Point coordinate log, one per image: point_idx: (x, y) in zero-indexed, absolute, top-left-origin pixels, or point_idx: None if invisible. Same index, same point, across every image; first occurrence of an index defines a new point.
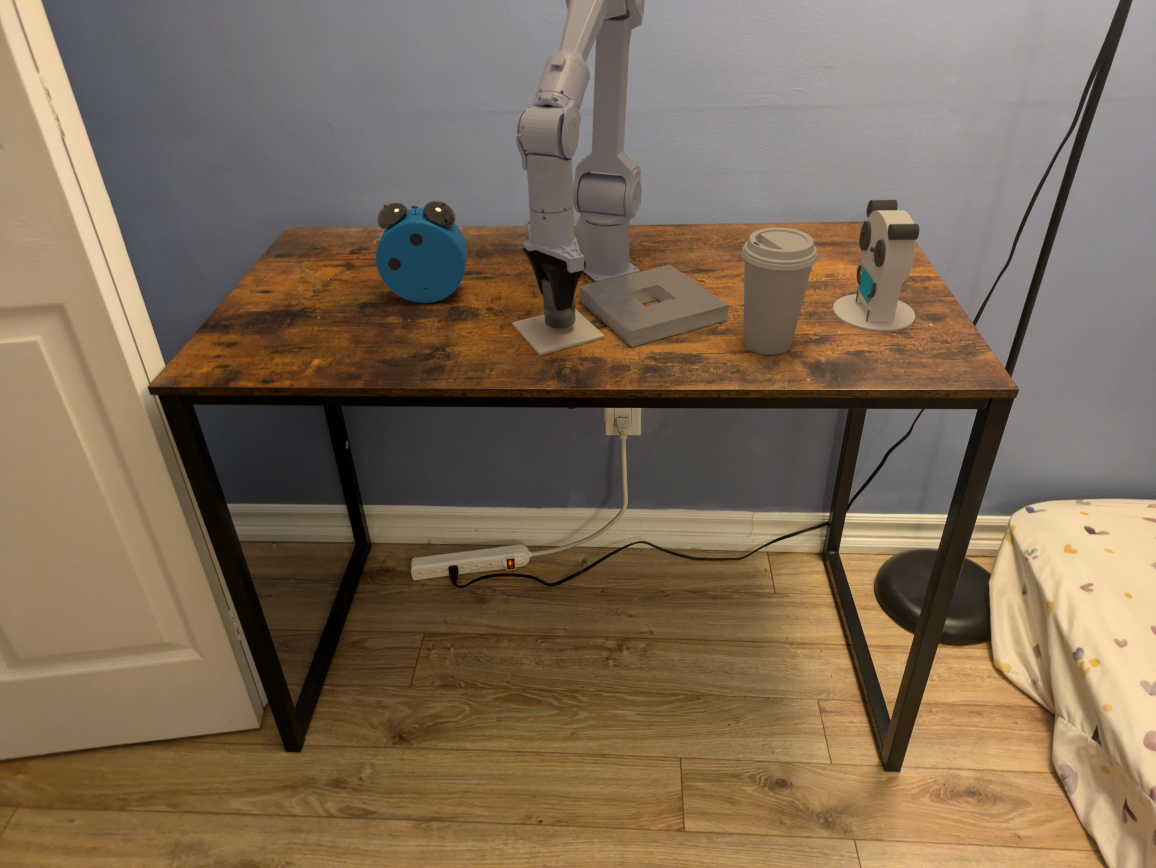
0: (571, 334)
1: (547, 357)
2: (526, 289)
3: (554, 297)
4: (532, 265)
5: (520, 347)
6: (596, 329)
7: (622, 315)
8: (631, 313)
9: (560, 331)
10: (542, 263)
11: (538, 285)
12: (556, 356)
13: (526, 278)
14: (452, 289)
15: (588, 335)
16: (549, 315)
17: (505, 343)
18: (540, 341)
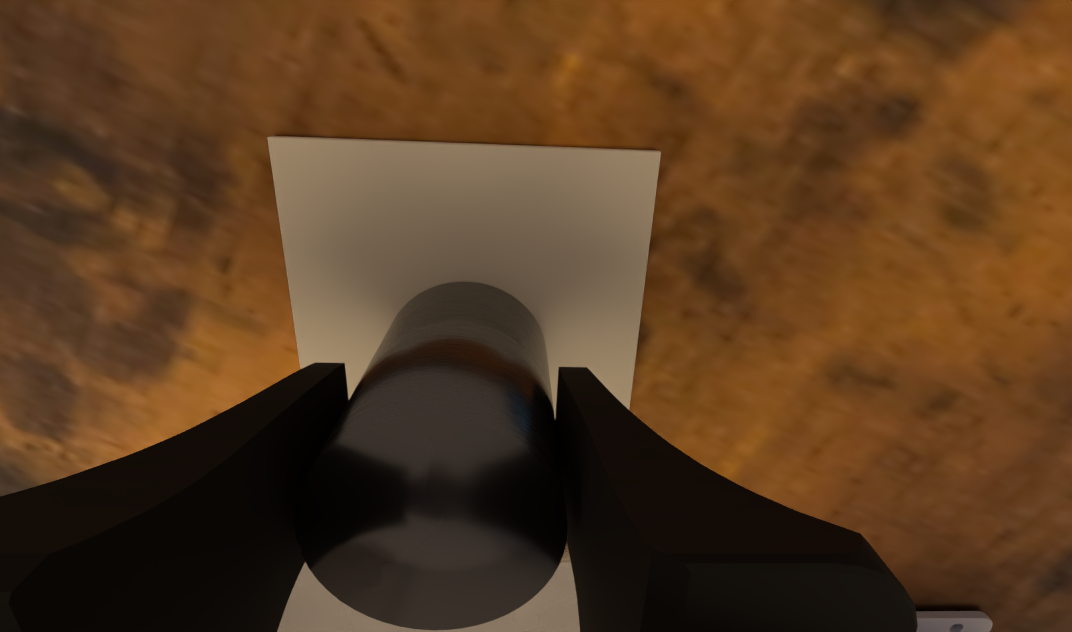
0: None
1: (244, 165)
2: (933, 370)
3: (265, 397)
4: (668, 469)
5: (404, 81)
6: None
7: (320, 591)
8: (325, 623)
9: None
10: (602, 559)
11: (597, 388)
12: (238, 209)
13: (1025, 413)
14: None
15: None
16: (417, 314)
17: (486, 21)
18: (387, 197)
